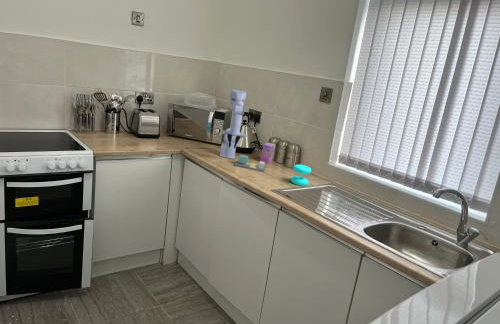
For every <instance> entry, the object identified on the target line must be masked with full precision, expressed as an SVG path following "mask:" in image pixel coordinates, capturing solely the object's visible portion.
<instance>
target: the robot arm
mask: <svg viewBox="0 0 500 324" xmlns="http://www.w3.org/2000/svg"><path fill="white" fill-rule="evenodd" d="M246 97H247V91H246V90H239V89H234V88H232V89H231V91H230V95H229V103H230V105H232V111H231V119H230V124H229V128H227V129H226V130H222V132H221V134H222V135H224V136H223V142H221V146H220V151H219V157H223V158H227V159H230V160H235V158H236V157H237V156H236V149H237V145H239V144H240V139H241V138H243V139H247V134H244V133H241V125H242V120H243V116H244V115H245V106H244V104H245V101H246V99H247V98H246Z"/></svg>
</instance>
